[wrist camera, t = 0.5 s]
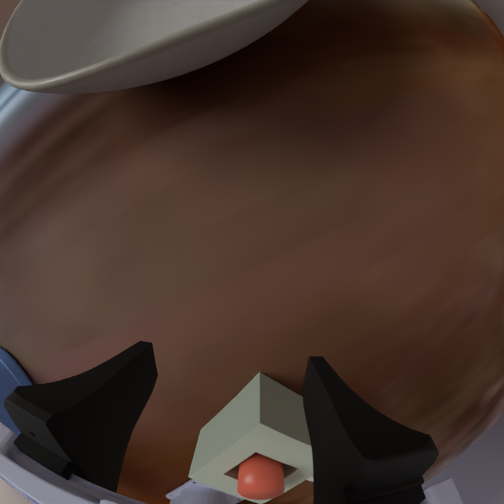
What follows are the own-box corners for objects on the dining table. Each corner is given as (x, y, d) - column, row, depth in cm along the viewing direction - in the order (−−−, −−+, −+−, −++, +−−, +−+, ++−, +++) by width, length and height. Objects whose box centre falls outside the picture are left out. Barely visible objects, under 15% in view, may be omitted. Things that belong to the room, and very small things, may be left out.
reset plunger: (264, 471, 18) (264, 503, 14) (231, 458, 18) (227, 491, 14) (290, 453, 18) (294, 487, 14) (257, 439, 18) (256, 474, 14)
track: (375, 490, 25) (387, 520, 18) (200, 429, 23) (188, 476, 16) (425, 451, 24) (444, 481, 17) (259, 371, 22) (259, 422, 15)
